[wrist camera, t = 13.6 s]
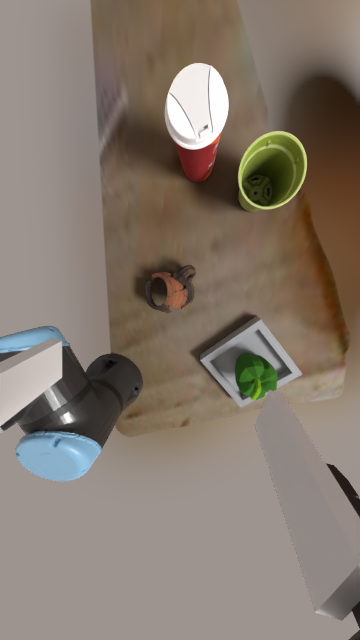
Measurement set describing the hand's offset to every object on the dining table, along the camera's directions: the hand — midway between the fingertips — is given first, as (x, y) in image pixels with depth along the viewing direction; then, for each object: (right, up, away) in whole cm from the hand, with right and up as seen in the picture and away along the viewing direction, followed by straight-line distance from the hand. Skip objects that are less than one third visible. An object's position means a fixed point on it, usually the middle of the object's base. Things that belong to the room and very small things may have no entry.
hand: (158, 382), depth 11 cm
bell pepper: (+18, -6, +32) cm, 37 cm away
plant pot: (+16, +28, +23) cm, 39 cm away
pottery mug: (0, +11, +30) cm, 32 cm away
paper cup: (+5, +33, +23) cm, 41 cm away
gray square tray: (+18, -6, +33) cm, 38 cm away
